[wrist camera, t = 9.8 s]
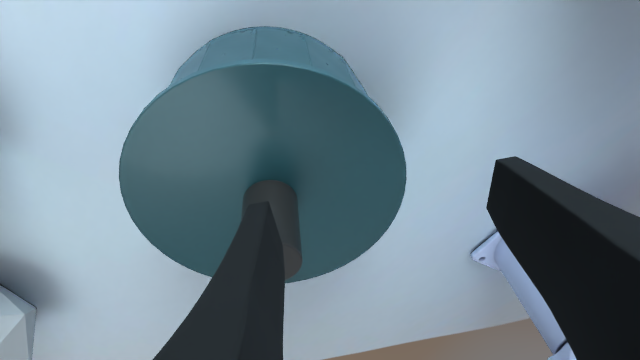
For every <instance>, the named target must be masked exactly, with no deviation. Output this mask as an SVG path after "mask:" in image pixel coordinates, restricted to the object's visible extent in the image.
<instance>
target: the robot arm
mask: <svg viewBox="0 0 640 360" xmlns="http://www.w3.org/2000/svg"><path fill="white" fill-rule="evenodd" d="M486 208H487V210H488V212H489V214H490V216H491V218H492V220H493V223H494V225H495V226H496V228H497V230H498V231H497V232H496V233H495V234H494V235H492V236H491V237H490V238H489V239H488V240H486V241H485V242H484V243H483V244H482V245H480V246H479V247H478V248H477V249H476V250H474V251H473V252H472V253H471V255H470V256H471V258H472V260H474V261H476V262H479V263H481V264H484V265H486V266H489V267H491V268H494V269H496V270H499V271H501V272H502V273H503V275H504V276H505V278H506V279H507V281H508V283H509V284H510V286H511V287H512V289H513V291H514V292H515V294H516V296H517V297H518V299H519V300H520V302H521V304H522V305H523V307H524V308H525V310H526V312H527V313H528V315H529V317H530V318H531V320H532V321H533V323H534V325H535V326H536V328H537V329H538V331H539V333H540V334H541V336H542V337H543V339H544V341H545V342H546V344H547V346H548V347H549V349H550V350H551V352H552V353H553V356H551V357H549V358H548V359H547V360H640V217H638V216H635V215H633V214H631V213H629V212H626V211H624V210H622V209H620V208H618V207H615V206H613V205H611V204H609V203H607V202H604V201H602V200H600V199H598V198H596V197H594V196H592V195H590V194H588V193H586V192H584V191H582V190H580V189H578V188H576V187H574V186H572V185H570V184H568V183H566V182H564V181H563V180H561V179H559V178H557V177H555V176H553V175H551V174H549V173H547V172H545V171H544V170H542V169H540V168H538V167H536V166H534V165H532V164H530V163H528V162H526V161H524V160H522V159H520V158H518V157H509V158H504V159H498V160H496V162H495V167H494V172H493V177H492V182H491V187H490V192H489V197H488V202H487V207H486ZM284 288H285V268H284V255H283V244H282V241H281V238H280V235H279V232H278V228H277V225H276V222H275V219H274V216H273V213H272V210H271V206H270V203H269V201H265V202H259V203H254V204H250V205H249V206H248V207H247V209H246V212H245V214H244V216H243V219H242V221H241V223H240V225H239V228H238V230H237V232H236V234H235V236H234V238H233V240H232V242H231V244H230V246H229V248H228V250H227V252H226V254H225V256H224V258H223V260H222V262H221V263H220V265H219V267H218V269H217V270H216V272H215V274H214V275H213V277H212V279H211V281H210V282H209V284H208V286H207V287H206V289H205V290H204V292H203V293H202V295H201V297H200V298H199V300H198V301H197V303H196V304H195V305H194V307H193V308H192V310H191V311H190V313H189V314H188V316H187V317H186V318H185V320H184V321H183V322H182V324H181V325H180V326H179V328H178V329H177V330H176V331H175V333H174V334H173V335H172V337H171V338H170V339H169V341H168V342H167V343H166V344H165V346H164V347H163V348H162V349H161V350H160V352H159V353H158V354H157V355H156V356H155V357H154V359H153V360H283V317H284Z"/></svg>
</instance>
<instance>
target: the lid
mask: <svg viewBox="0 0 640 360" xmlns="http://www.w3.org/2000/svg"><path fill="white" fill-rule="evenodd" d="M119 181H120V188H121V194H122V197H123V200H124V203H125V206H126V208H127V210H128V212H129V214H130V216H131V218H132V220H133V222H134V223H135V225H136V226H137V227H138V229H139V230H140V232H141V233H142V234H143V235H144V236H145V237H146V238H147V239H148V240H149V241H150V243H151V244H153V245H154V246H155V247H156V248H157V249H159V250H160V251H161V252H162V253H163V254H165V255H166V256H168V257H169V258H171V259H172V260H174V261H175V262H177V263H179V264H181V265H183V266H185V267H187V268H189V269H191V270H194V271H196V272H198V273H201V274H204V275H207V276H210V277H213V275H214V274H215V272H216V270H217V269H218V267H219V265H220V263H221V262H222V260H223V258H224V256H225V254H226V252H227V250H228V248H229V246H230V244H231V242H232V240H233V238H234V236H235V234H236V232H237V230H238V228H239V225H240V223H241V221H242V219H243V216H244V214H245V212H246V209H247V207H248V206H249V205H250V204H254V203H259V202H265V201H269V203H270V206H271V210H272V213H273V216H274V219H275V222H276V225H277V228H278V232H279V235H280V238H281V241H282V244H283V255H284V268H285V283H291V282H296V281H302V280H306V279H310V278H313V277H317V276H320V275H323V274H326V273H328V272H331V271H333V270H335V269H338V268H340V267H342V266H344V265H346V264H347V263H349V262H351V261H352V260H354V259H356V258H357V257H359V256H360V255H361V254H363V253H364V252H365V251H367V250H368V249H369V248H370V247H371V246H373V245H374V244H375V243H376V242H377V241H378V240H379V239H380V238H381V236H382V235H383V234H384V233H385V232H386V231H387V229H388V228H389V226H390V225H391V223H392V222H393V220H394V219H395V216H396V214H397V212H398V210H399V208H400V206H401V202H402V199H403V196H404V192H405V185H406V162H405V157H404V152H403V148H402V146H401V143H400V140H399V138H398V135H397V133H396V132H395V130H394V128H393V126H392V125H391V123H390V121H389V119H388V118H387V116H386V115H385V114H384V113H383V111H382V110H381V109H380V108H379V106H378V105H377V104H376V103H375V102H374V101H373V100H372V99H371V98H369V97H368V96H367V95H366V94H365V93H364V92H363V91H361V90H360V89H358V88H357V87H355V86H354V85H352V84H351V83H350V82H348V81H347V80H345V79H343V78H340V77H338V76H336V75H334V74H332V73H330V72H328V71H326V70H322V69H319V68H316V67H313V66H310V65H307V64H303V63H297V62H292V61H287V60H276V59H248V60H236V61H231V62H227V63H222V64H217V65H213V66H210V67H207V68H205V69H202V70H199V71H196V72H193V73H191V74H190V75H188V76H186V77H184V78H182V79H180V80H178V81H176V82H174V83H173V84H172V85H170V86H169V87H168V88H166V89H165V90H163V91H162V92H161V93H159V94H158V95H157V96H156V97H155V98H154V99H153V100H152V101H151V102H150V103H149V104H148V105H147V106H146V107H145V108H144V110H143V111H142V112H141V114H140V115H139V117H138V118H137V120H136V121H135V123H134V124H133V126H132V127H131V129H130V131H129V133H128V136H127V138H126V140H125V142H124V145H123V149H122V153H121V157H120V165H119Z"/></svg>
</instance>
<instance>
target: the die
mask: <svg viewBox="0 0 640 360" xmlns="http://www.w3.org/2000/svg"><path fill="white" fill-rule="evenodd" d="M36 309H37V308H36V307H34V306H33V305H31V304H30V303H28V302H26V301H25V300H23V299H22V298H20V297H19V296H17V295H15V294H14V293H12V292H11V291H9V290H8V289H6V288H4V287H3V286H1V285H0V360H32V354H33V343H34V331H35V320H36Z"/></svg>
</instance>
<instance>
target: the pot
mask: <svg viewBox="0 0 640 360" xmlns="http://www.w3.org/2000/svg"><path fill="white" fill-rule="evenodd" d="M248 59H276V60H287V61H292V62H297V63H303V64H307V65H310V66H313V67H316V68H319V69H322V70H326V71H328V72H330V73H332V74H334V75H336V76H338V77H340V78H343V79H345V80H347V81H348V82H350V83H351V84H352V85H354V86H355V87H357V88H358V89H360V90H361V91H363V92H364V93H365V94H366V95H367V93H366V91H365V89H364V88H363V86H362V85H361V83H360V82H359V80H358V79H357V77H356V76H355V74H354V72H353V71H352V69H351V68H350V67H349V66H348V64H347V63H346V61H345V60H344V59H343V57H341V55H339V54H337V53H336V52H335V51H334V50H332V49H331V48H330V47H328V46H327V45H325V44H324V43H322V42H321V41H319V40H317V39H315V38H313V37H311V36H309V35H306V34H303V33H300V32H297V31H294V30H289V29H285V28H279V27H250V28H245V29H240V30H235V31H232V32H230V33H227V34H224V35H221V36H219V37H217V38H215V39H212V40H211V41H209V42H208V43H207V44H205V45H204V46H203V47H201V48H200V49H199V50H197V51H196V52H195V53H194V54H193V55H192V56H191V57H190V58H189V59H188V60H187V61H186V62H185V63H184V64H183V65H182V66H181V67H180V68H179V69H178V71H177V73H176V75H175V76H174V78H173V80H172V82H171V84H170V85H172V84H173V83H174V82H176V81H178V80H180V79H182V78H184V77H186V76H188V75H190V74H191V73H193V72H196V71H199V70H202V69H205V68H207V67H210V66H213V65H217V64H222V63H227V62H231V61H236V60H248ZM170 85H169V86H170ZM367 96H368V95H367Z"/></svg>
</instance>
